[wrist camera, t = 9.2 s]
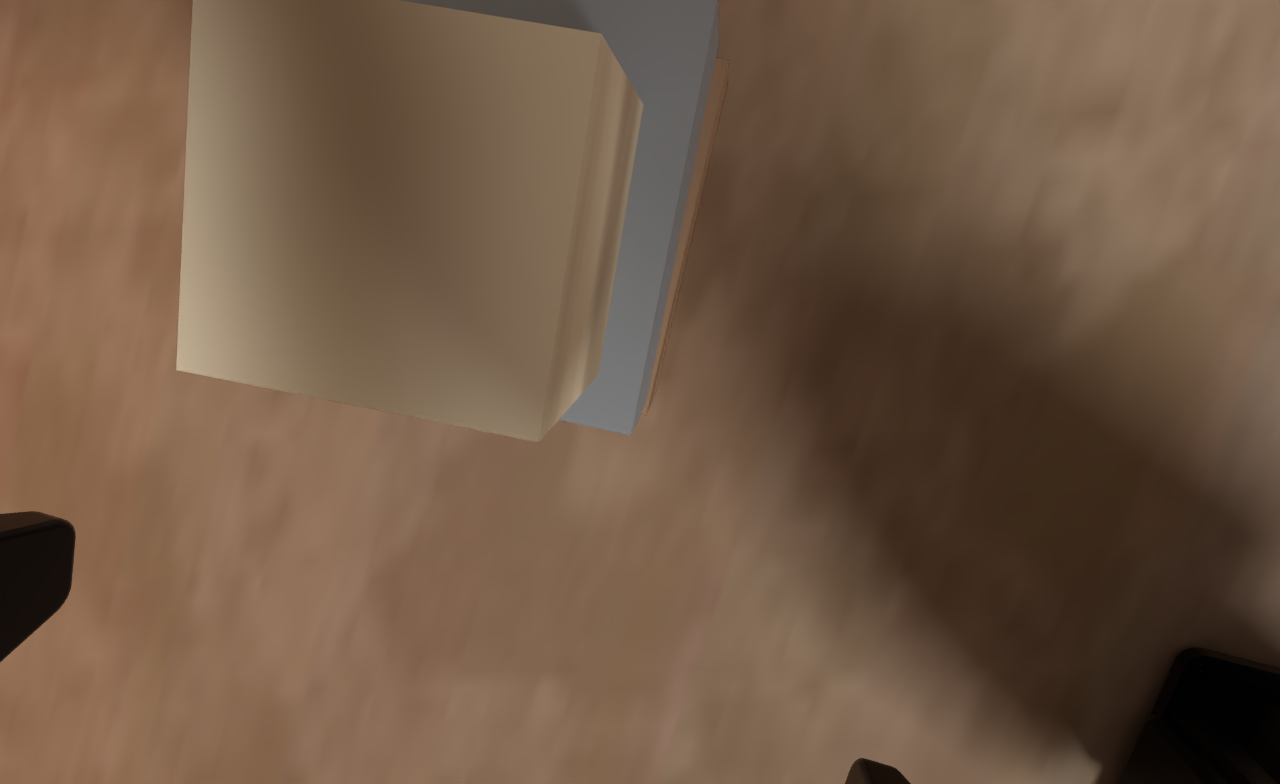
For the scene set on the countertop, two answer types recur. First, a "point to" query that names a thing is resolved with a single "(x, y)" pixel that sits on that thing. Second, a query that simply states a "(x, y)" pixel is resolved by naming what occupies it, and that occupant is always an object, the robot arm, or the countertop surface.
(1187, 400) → the countertop surface
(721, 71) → the walnut block
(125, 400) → the countertop surface
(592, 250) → the birch cube
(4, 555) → the robot arm
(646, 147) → the slate block
